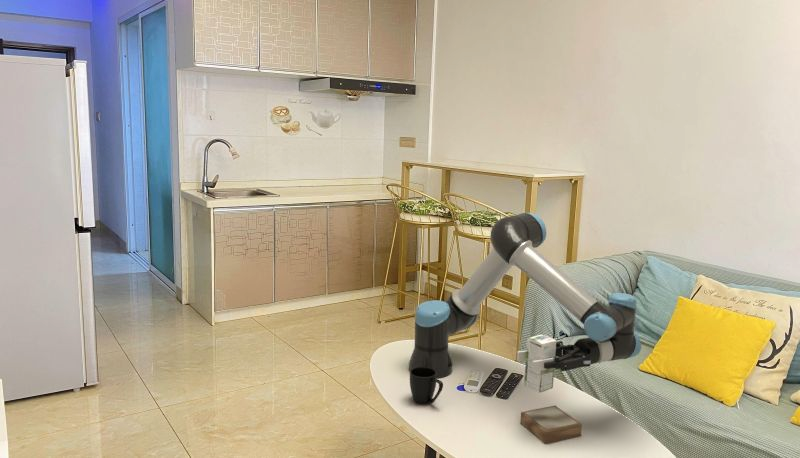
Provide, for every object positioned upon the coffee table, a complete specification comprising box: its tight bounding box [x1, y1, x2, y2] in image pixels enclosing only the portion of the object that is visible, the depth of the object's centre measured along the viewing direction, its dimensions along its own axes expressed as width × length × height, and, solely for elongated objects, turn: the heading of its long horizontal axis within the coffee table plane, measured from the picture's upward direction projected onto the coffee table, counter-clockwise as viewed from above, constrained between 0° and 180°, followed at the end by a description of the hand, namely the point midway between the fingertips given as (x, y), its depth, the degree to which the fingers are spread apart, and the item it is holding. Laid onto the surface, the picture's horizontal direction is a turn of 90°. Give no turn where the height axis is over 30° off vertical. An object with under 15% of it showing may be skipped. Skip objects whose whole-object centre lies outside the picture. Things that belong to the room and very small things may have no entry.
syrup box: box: [523, 334, 557, 394], centre depth 168 cm, size 6×6×14 cm
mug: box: [409, 367, 444, 406], centre depth 185 cm, size 8×12×10 cm
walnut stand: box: [519, 405, 583, 445], centre depth 171 cm, size 12×12×4 cm
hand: (525, 361), depth 166 cm, fingers closed on syrup box, 6 cm apart
